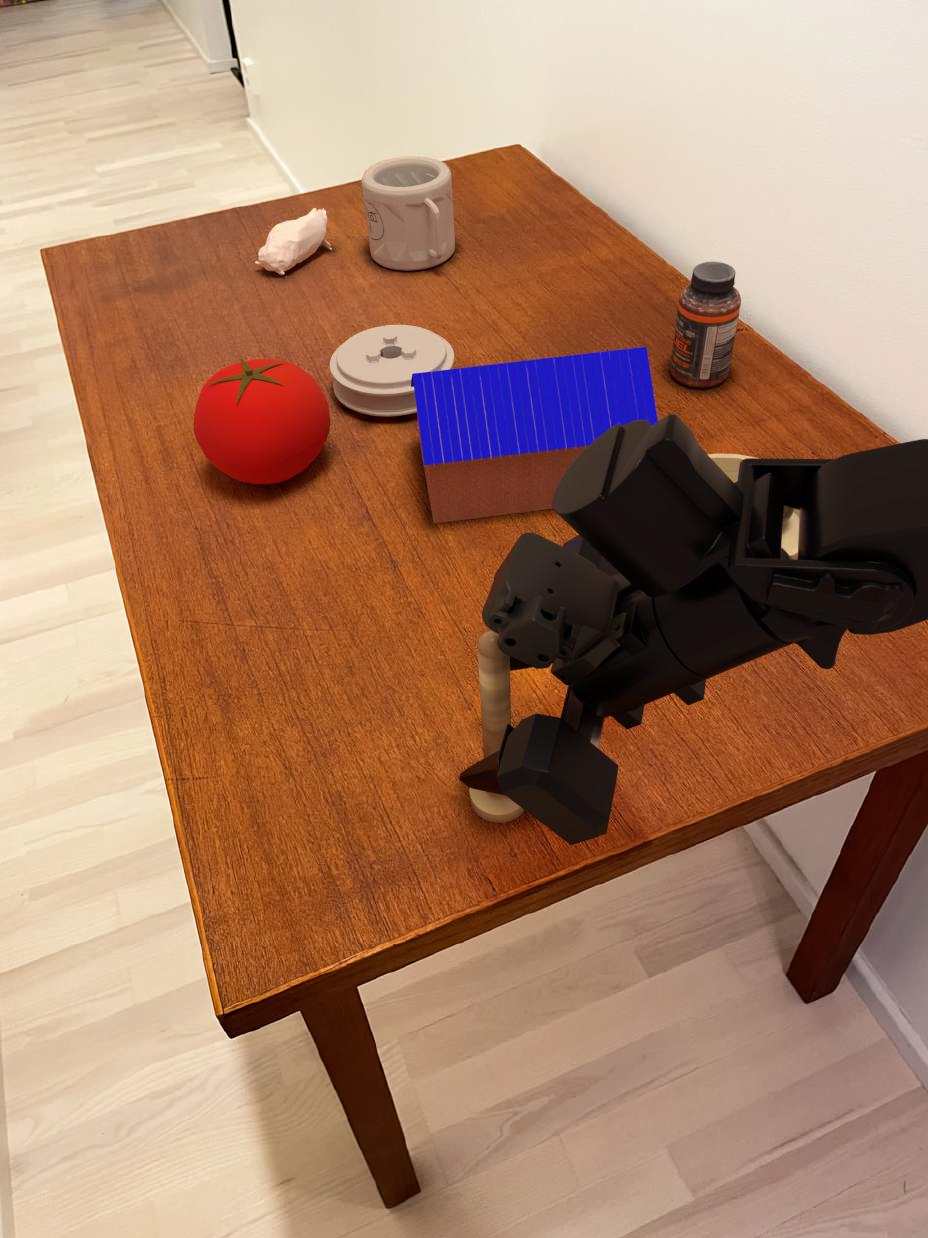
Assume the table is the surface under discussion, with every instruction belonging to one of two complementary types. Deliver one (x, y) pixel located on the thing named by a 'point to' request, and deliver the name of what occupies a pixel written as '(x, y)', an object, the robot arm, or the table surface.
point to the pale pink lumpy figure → (293, 241)
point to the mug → (409, 212)
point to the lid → (386, 368)
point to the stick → (493, 724)
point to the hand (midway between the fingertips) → (484, 720)
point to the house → (521, 426)
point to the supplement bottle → (706, 326)
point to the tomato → (261, 420)
